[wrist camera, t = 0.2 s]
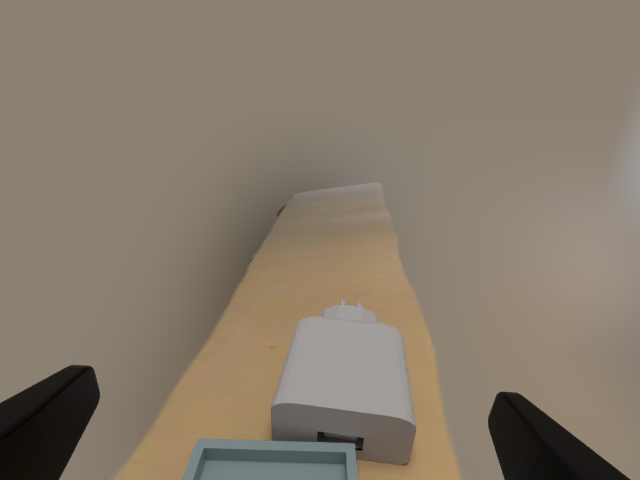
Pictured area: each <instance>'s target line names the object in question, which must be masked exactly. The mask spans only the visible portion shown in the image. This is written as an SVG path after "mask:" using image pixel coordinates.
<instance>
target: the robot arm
mask: <svg viewBox="0 0 640 480" xmlns="http://www.w3.org/2000/svg"><path fill="white" fill-rule="evenodd" d="M99 399H100V391H99V387H98V383H97V379H96V375H95V371H94V369H93V368H92V367H91V366H85V365H71V366H68V367H66V368H64V369H62V370H61V371H59V372H57V373H55V374H53V375H51V376H49V377H48V378H46V379H44V380H42V381H40V382H38V383H37V384H35V385H33V386H31V387H29V388H27V389H25V390H24V391H22V392H20V393H18V394H16V395H14V396H12V397H11V398H9V399H7V400H5V401H3V402H1V403H0V480H59V478H60V477H61V475H62V473H63V471H64V469H65V467H66V465H67V464H68V462H69V460H70V458H71V456H72V454H73V452H74V450H75V448H76V446H77V444H78V442H79V440H80V438H81V436H82V434H83V432H84V430H85V429H86V426H87V425H88V423H89V421H90V419H91V417H92V415H93V413H94V411H95V409H96V407H97V405H98V402H99ZM488 426H489V431H490V434H491V437H492V440H493V443H494V447H495V450H496V453H497V457H498V460H499V463H500V466H501V469H502V473H503V476H504V479H505V480H630V479H629V478H628V477H626V476H625V475H624V474H622V473H621V472H620V471H619V470H617V469H616V468H615V467H613V466H612V465H611V464H610V463H608V462H607V461H606V460H604V459H603V458H602V457H601V456H599V455H598V454H597V453H595V452H594V451H593V450H592V449H590V448H589V447H588V446H586V445H585V444H584V443H582V442H581V441H580V440H579V439H577V438H576V437H575V436H573V435H572V434H571V433H570V432H568V431H567V430H566V429H564V428H563V427H562V426H560V425H559V424H558V423H557V422H555V421H554V420H553V419H551V418H550V417H549V416H547V415H546V414H545V413H544V412H543V411H541V410H540V409H539V408H537V407H536V406H535V405H533V404H532V403H531V402H530V401H528V400H527V399H526V398H525V397H523V396H522V395H520V394H518V393H512V392H499V393H498V394H497V395H496V398H495V400H494V403H493V406H492V409H491V411H490V414H489V418H488Z"/></svg>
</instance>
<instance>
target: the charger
mask: <svg viewBox="0 0 640 480" xmlns="http://www.w3.org/2000/svg"><path fill="white" fill-rule="evenodd" d="M271 421H272V440H273V441H294V442H327V443H355V448H360V449H363V450H362V451H359V450H355V452H356V459H361V460H368V461H375V462H381V463H388V464H396V465H403V464H406V463H408V461H409V460H410V455H411V451H412V446H413V442H414V437H415V433H416V424H415V417H414V410H413V403H412V396H411V389H410V382H409V375H408V368H407V361H406V354H405V347H404V340H403V334H402V332H401V331H400V330H398V329H396V328H394V327H392V326H390V325H388V324H386V323H380V322H379V317H378V316H377V315H376V314H375V313H373V312H371V311H369V310H367V309H365V308H363V307H362V303H361V302H357V307H356V306H346V305H345V300H341V302H340V305H336V306H333V307H330V308H326V309H325V310H323V311H322V314H321V316H312V317H308V318H305V319H301V320H300V321H298V323H297V325H296V329H295V332H294V335H293V338H292V342H291V345H290V348H289V352H288V355H287V358H286V362H285V365H284V368H283V371H282V375H281V378H280V381H279V385H278V388H277V391H276V394H275V398H274V401H273V404H272V408H271Z"/></svg>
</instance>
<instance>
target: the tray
mask: <svg viewBox="0 0 640 480" xmlns="http://www.w3.org/2000/svg"><path fill="white" fill-rule="evenodd" d="M183 480H358V476H357V464H356V452H355V443H327V442H294V441H261V440H227V439H197V441H196V444H195V447H194V450H193V452H192V455H191V458H190V460H189V463H188V466H187V469H186V471H185V474H184V477H183Z"/></svg>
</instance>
